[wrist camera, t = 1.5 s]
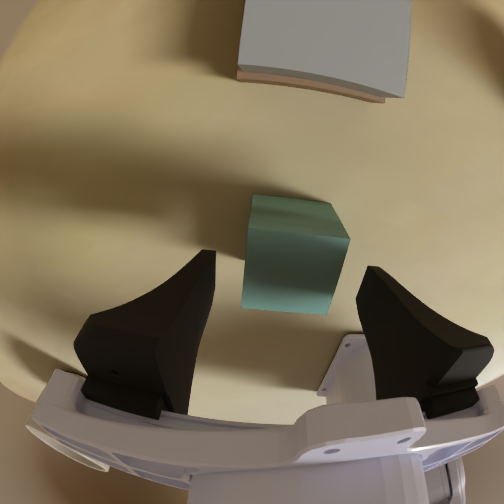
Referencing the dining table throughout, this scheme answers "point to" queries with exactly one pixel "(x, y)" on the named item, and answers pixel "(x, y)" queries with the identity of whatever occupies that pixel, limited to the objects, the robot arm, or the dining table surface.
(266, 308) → the teal block
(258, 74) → the tower base
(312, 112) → the dining table surface
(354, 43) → the tower top
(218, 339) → the dining table surface
